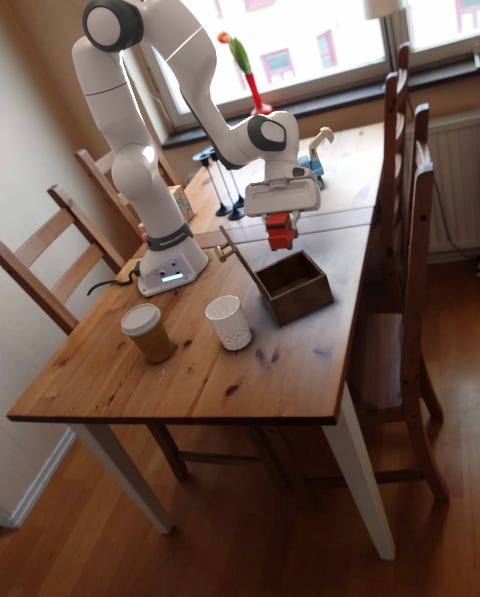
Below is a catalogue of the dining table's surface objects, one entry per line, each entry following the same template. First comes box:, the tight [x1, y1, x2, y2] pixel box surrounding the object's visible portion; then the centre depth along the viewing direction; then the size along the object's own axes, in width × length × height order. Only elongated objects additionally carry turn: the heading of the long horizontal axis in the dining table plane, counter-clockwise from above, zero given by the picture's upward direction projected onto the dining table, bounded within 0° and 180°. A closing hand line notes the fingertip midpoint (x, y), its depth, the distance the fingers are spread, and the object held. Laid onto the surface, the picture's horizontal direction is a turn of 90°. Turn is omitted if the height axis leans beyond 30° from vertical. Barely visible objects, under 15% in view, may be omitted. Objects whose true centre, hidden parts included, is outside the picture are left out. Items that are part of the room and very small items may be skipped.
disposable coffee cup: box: [120, 302, 174, 363], centre depth 110 cm, size 10×10×12 cm
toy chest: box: [253, 249, 335, 328], centre depth 109 cm, size 14×14×8 cm
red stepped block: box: [264, 213, 299, 252], centre depth 120 cm, size 8×5×8 cm, turn 157°
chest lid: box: [213, 224, 270, 301], centre depth 103 cm, size 14×14×4 cm
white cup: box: [205, 294, 253, 351], centre depth 104 cm, size 8×8×10 cm
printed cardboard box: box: [137, 184, 196, 235], centre depth 161 cm, size 21×6×12 cm, turn 152°
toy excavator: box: [298, 126, 335, 191], centre depth 150 cm, size 9×17×17 cm, turn 89°
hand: (280, 231), depth 119 cm, fingers closed on red stepped block, 5 cm apart
